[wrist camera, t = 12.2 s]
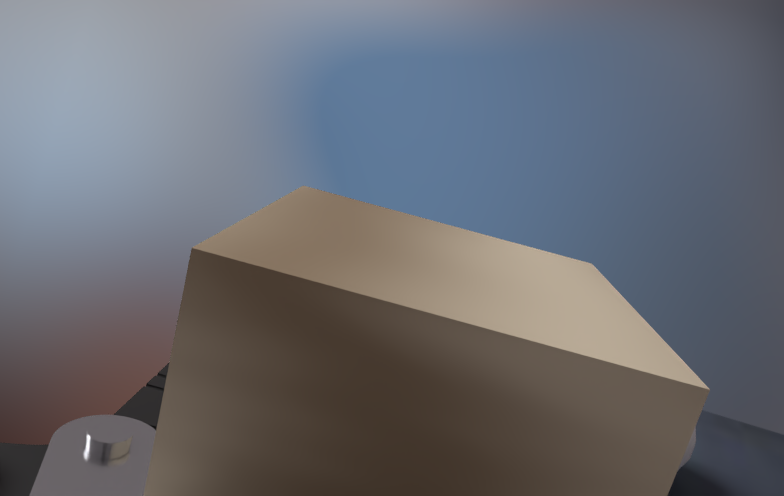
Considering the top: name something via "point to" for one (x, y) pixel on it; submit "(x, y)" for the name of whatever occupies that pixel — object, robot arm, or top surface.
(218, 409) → the maple pillar
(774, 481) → the top surface
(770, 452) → the top surface
